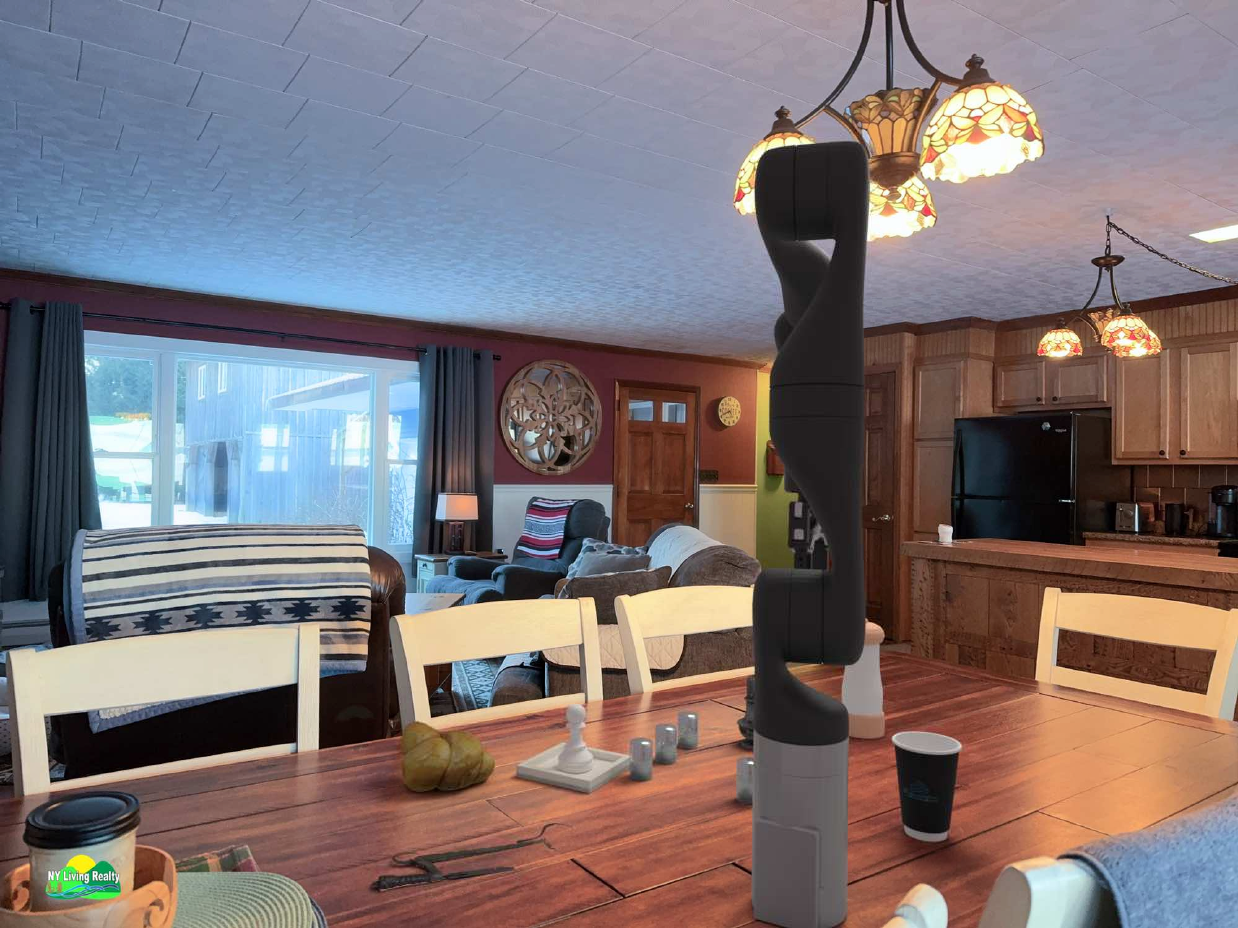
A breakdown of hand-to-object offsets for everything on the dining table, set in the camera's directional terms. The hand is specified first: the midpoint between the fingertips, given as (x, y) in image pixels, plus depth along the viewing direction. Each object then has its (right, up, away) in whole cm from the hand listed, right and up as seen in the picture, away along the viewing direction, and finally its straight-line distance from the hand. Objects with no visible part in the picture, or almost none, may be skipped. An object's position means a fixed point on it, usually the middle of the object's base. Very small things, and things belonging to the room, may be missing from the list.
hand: (811, 579), depth 112 cm
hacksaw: (-41, -29, -18) cm, 54 cm away
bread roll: (-49, -29, +3) cm, 57 cm away
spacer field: (-12, -29, +9) cm, 33 cm away
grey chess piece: (-4, -29, +21) cm, 37 cm away
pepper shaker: (+15, -30, +29) cm, 44 cm away
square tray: (-32, -29, +8) cm, 44 cm away
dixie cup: (+11, -29, -11) cm, 33 cm away
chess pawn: (-32, -28, +8) cm, 43 cm away
